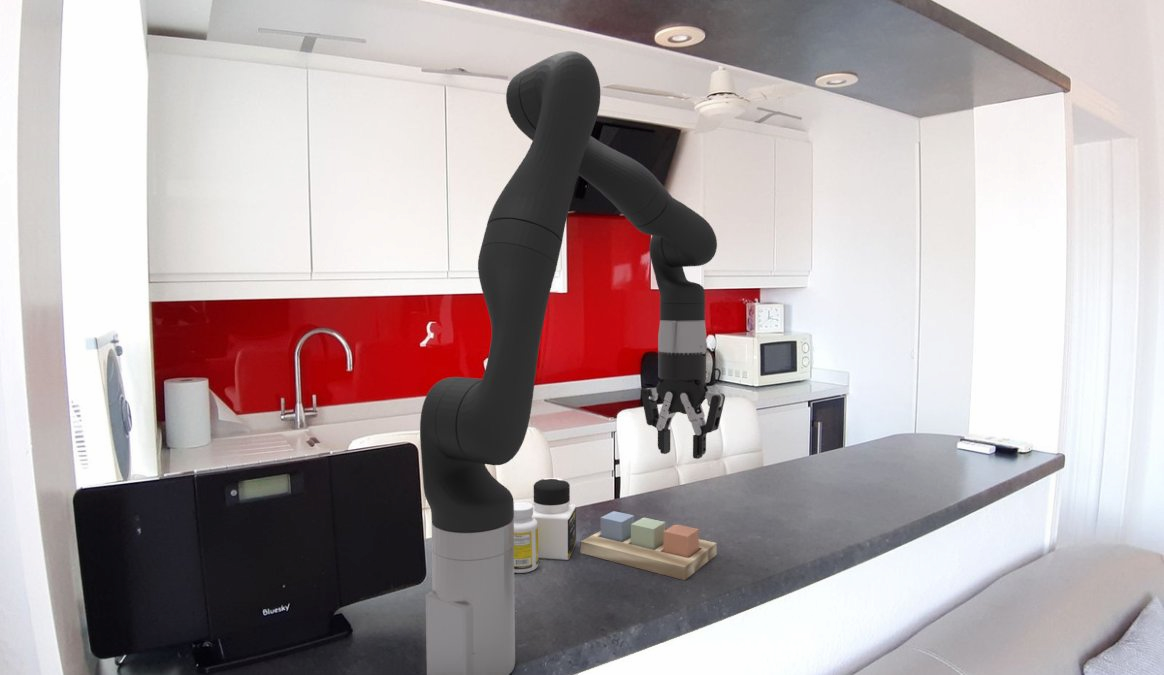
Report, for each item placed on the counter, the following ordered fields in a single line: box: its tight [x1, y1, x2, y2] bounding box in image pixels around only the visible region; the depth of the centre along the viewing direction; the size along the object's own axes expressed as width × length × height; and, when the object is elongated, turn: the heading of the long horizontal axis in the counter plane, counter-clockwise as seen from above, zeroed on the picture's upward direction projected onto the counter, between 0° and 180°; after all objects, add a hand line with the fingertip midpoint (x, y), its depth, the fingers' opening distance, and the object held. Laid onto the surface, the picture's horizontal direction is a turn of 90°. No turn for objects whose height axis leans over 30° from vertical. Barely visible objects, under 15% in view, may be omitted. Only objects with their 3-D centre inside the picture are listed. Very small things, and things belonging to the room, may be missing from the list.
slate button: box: [599, 510, 635, 542], centre depth 113 cm, size 4×4×4 cm
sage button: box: [631, 516, 667, 550], centre depth 109 cm, size 4×4×4 cm
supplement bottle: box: [514, 502, 539, 574], centre depth 104 cm, size 5×5×10 cm
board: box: [580, 530, 718, 581], centre depth 109 cm, size 12×19×2 cm, turn 55°
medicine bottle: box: [532, 477, 577, 561], centre depth 110 cm, size 7×7×12 cm
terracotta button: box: [663, 524, 700, 558], centre depth 106 cm, size 4×4×4 cm
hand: (681, 454), depth 105 cm, fingers open, 5 cm apart
